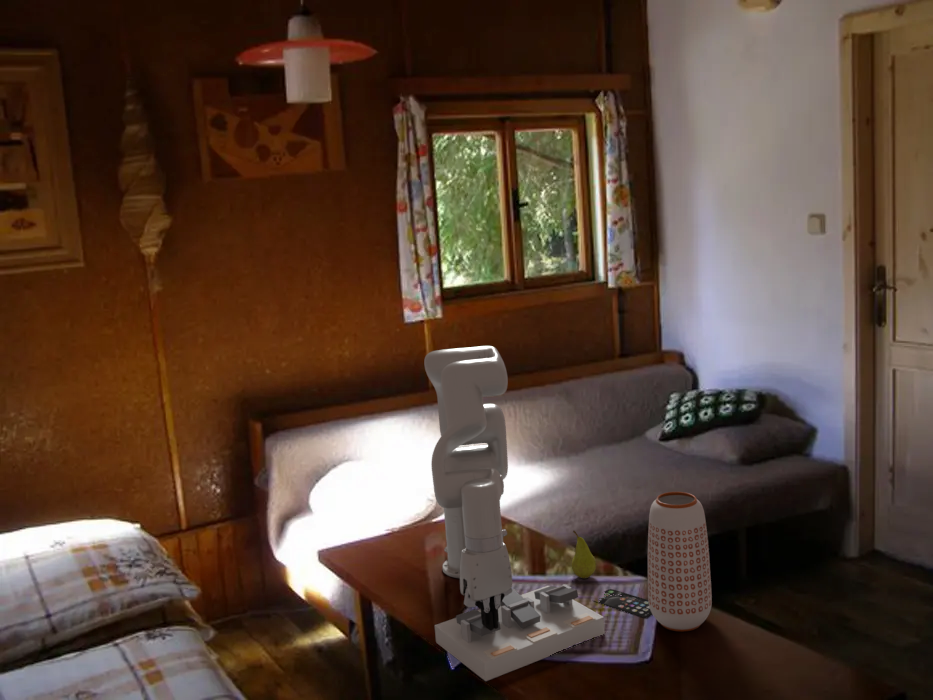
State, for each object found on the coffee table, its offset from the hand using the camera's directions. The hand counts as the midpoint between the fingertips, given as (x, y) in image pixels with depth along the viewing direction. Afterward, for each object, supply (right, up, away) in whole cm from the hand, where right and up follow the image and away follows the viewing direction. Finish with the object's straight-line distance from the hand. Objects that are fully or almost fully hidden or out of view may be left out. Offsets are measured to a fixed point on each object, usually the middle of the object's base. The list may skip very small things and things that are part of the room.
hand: (490, 626), depth 200 cm
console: (+7, -6, +11) cm, 14 cm away
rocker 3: (+15, +3, +15) cm, 21 cm away
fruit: (+24, +1, +38) cm, 45 cm away
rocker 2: (+6, +1, +10) cm, 12 cm away
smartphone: (+31, -2, +24) cm, 39 cm away
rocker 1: (-3, 0, +5) cm, 6 cm away
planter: (+41, -3, +13) cm, 43 cm away
